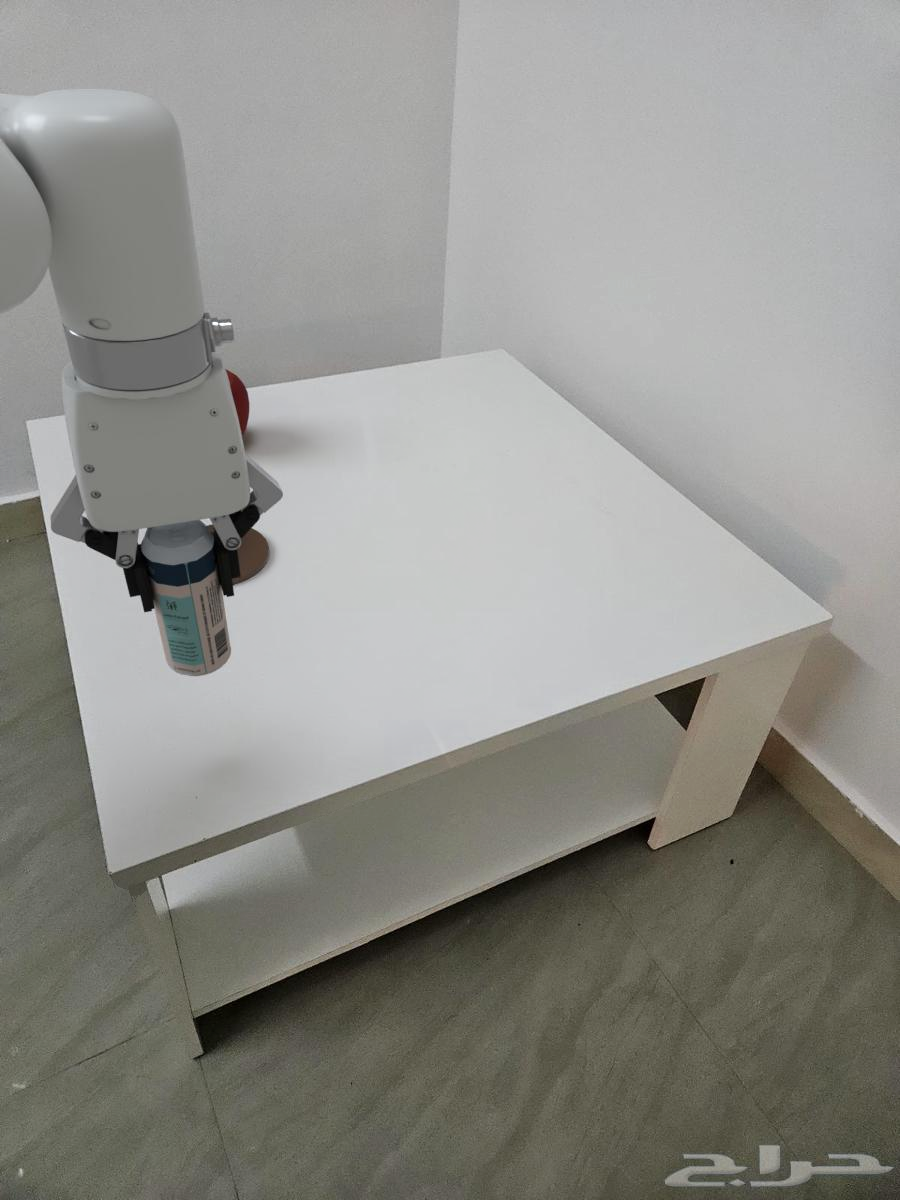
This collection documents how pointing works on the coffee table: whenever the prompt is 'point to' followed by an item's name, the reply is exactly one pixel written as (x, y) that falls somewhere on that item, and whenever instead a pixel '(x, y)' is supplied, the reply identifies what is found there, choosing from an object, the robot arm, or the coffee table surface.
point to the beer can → (187, 596)
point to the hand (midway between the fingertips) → (186, 590)
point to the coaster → (250, 554)
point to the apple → (239, 400)
